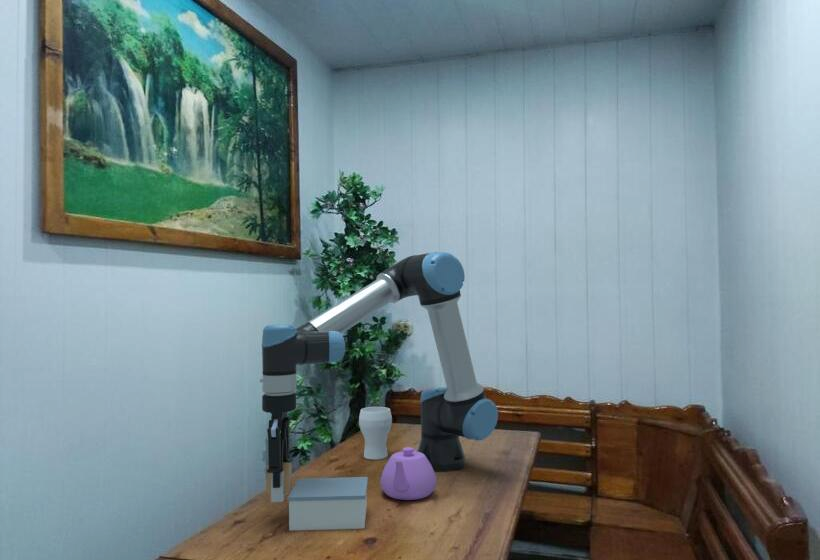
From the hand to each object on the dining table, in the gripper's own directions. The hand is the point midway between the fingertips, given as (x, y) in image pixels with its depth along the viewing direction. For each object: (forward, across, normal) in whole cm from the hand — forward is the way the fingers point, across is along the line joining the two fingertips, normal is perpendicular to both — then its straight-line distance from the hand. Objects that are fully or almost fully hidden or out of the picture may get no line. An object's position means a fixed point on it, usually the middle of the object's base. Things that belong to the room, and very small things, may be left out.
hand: (279, 497), depth 120 cm
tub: (+6, 0, +11) cm, 13 cm away
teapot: (+6, -14, +29) cm, 33 cm away
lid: (-1, 0, +9) cm, 9 cm away
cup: (+6, -52, +20) cm, 56 cm away
